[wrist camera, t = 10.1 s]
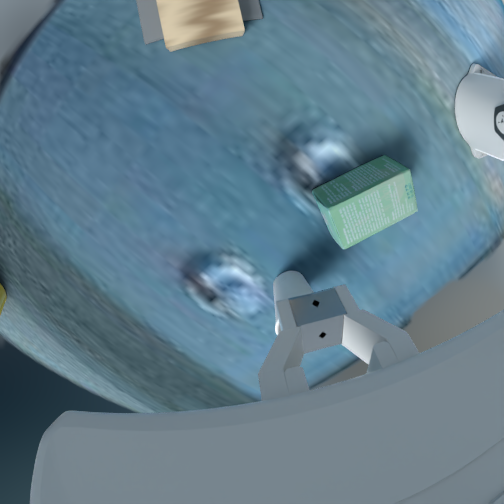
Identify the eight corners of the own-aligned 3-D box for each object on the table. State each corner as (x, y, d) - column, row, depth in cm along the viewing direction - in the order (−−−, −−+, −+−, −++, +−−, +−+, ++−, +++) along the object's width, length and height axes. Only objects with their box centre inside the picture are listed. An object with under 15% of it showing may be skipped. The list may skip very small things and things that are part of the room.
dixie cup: (255, 285, 48) (263, 328, 40) (292, 255, 46) (309, 295, 37) (285, 308, 52) (297, 349, 44) (320, 281, 50) (339, 321, 41)
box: (308, 190, 40) (326, 211, 34) (383, 152, 38) (411, 167, 32) (325, 228, 44) (343, 253, 38) (394, 191, 42) (419, 211, 35)
